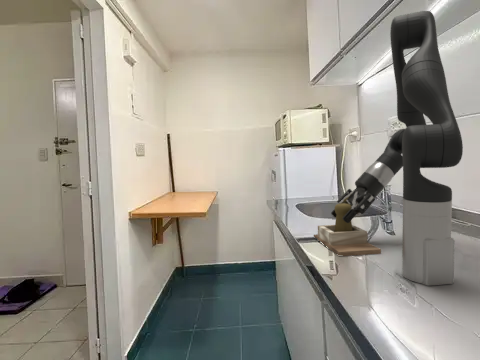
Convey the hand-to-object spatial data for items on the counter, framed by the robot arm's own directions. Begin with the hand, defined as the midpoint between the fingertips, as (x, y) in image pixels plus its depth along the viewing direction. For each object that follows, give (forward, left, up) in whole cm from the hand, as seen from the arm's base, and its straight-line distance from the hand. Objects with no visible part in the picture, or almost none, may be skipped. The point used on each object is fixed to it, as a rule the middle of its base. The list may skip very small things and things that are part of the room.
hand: (338, 218), depth 101 cm
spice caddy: (-2, -1, -8) cm, 8 cm away
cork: (+1, -2, -7) cm, 7 cm away
